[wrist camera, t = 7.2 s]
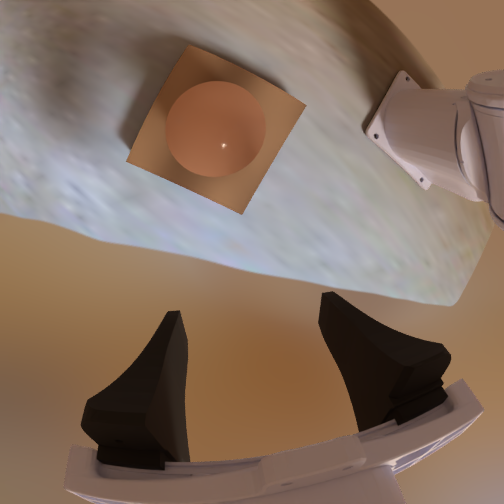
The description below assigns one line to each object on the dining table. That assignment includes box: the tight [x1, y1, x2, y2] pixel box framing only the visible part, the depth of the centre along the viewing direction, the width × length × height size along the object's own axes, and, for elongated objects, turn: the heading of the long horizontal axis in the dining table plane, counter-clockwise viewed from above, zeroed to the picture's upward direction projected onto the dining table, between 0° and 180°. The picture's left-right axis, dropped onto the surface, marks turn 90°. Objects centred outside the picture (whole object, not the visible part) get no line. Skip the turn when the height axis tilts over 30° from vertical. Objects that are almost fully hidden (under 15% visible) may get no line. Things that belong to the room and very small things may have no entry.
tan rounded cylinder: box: [165, 81, 266, 177], centre depth 14 cm, size 5×5×6 cm
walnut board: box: [126, 44, 307, 215], centre depth 17 cm, size 9×9×2 cm
